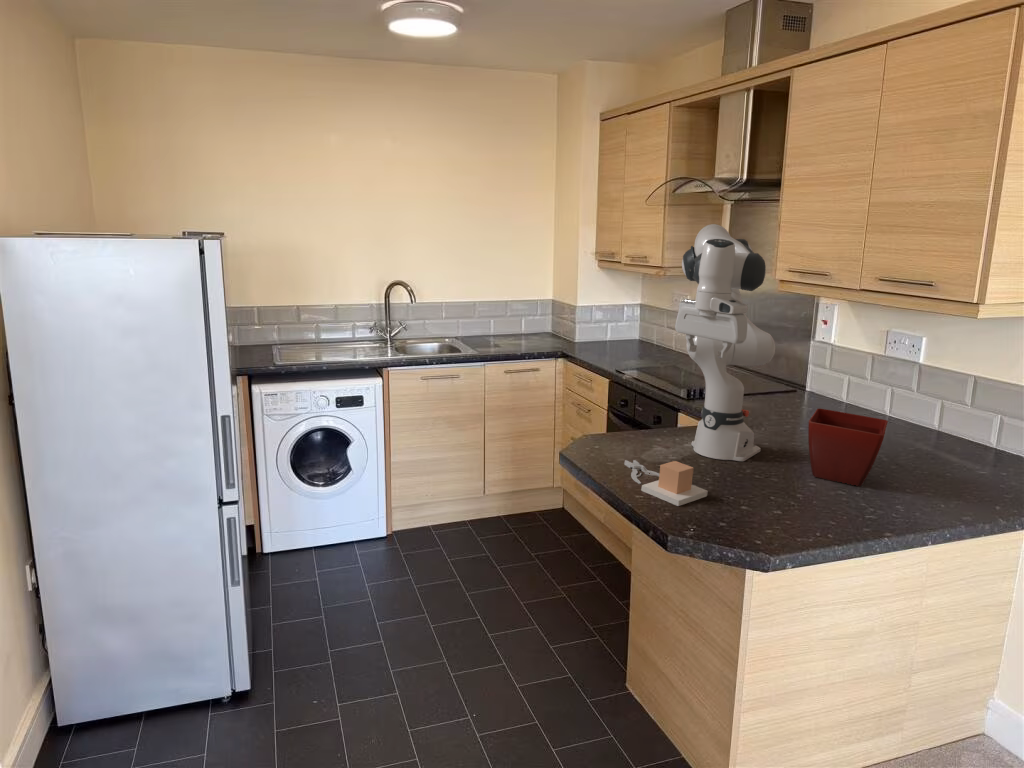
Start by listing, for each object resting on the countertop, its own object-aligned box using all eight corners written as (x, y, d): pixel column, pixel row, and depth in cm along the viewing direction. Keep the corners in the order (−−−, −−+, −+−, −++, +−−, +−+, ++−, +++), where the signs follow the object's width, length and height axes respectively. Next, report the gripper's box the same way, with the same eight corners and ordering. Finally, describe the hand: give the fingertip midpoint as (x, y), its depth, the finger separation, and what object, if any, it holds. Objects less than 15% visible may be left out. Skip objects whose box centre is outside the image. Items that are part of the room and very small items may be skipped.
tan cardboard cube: (672, 482, 189) (675, 460, 187) (691, 489, 184) (693, 467, 183) (658, 486, 185) (660, 464, 183) (676, 494, 180) (679, 471, 179)
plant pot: (878, 474, 208) (888, 419, 204) (873, 494, 192) (884, 434, 188) (809, 460, 217) (817, 407, 213) (799, 478, 201) (807, 421, 197)
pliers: (639, 479, 190) (614, 460, 204) (638, 485, 190) (614, 466, 204) (671, 477, 193) (645, 459, 207) (670, 482, 193) (644, 464, 207)
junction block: (670, 481, 193) (672, 462, 192) (707, 496, 184) (709, 476, 183) (641, 490, 186) (643, 470, 184) (678, 506, 177) (680, 485, 175)
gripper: (673, 298, 190) (667, 348, 193) (739, 308, 175) (732, 363, 178) (687, 297, 194) (682, 347, 197) (753, 307, 179) (746, 360, 182)
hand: (706, 354), depth 188 cm, fingers open, 8 cm apart
